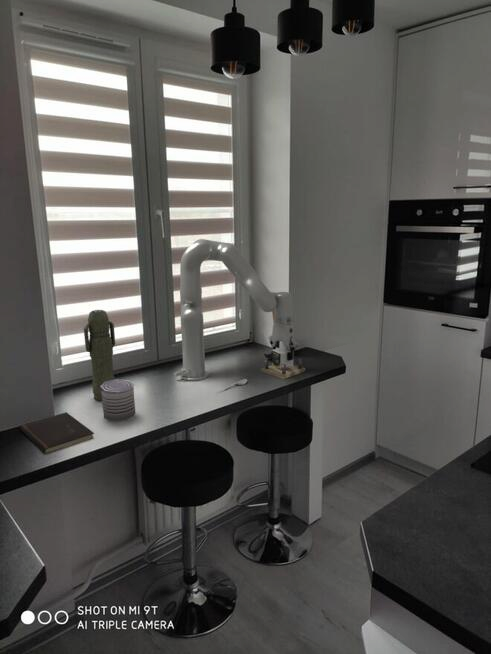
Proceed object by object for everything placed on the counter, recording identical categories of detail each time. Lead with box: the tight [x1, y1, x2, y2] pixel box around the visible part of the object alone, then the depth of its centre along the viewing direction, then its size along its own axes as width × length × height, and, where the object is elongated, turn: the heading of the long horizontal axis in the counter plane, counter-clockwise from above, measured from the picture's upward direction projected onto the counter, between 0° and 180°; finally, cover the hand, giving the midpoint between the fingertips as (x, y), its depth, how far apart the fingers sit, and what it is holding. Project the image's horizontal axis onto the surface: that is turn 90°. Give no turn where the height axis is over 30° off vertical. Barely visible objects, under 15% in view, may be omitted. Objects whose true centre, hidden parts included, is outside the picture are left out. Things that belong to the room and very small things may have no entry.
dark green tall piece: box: [83, 309, 116, 402], centre depth 191 cm, size 9×12×35 cm
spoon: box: [215, 378, 248, 394], centre depth 203 cm, size 4×21×2 cm, turn 136°
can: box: [100, 378, 136, 423], centre depth 176 cm, size 11×11×12 cm
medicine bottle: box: [271, 341, 294, 368], centre depth 220 cm, size 7×7×12 cm
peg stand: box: [260, 358, 306, 380], centre depth 221 cm, size 14×14×6 cm
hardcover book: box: [20, 411, 95, 454], centre depth 164 cm, size 16×23×2 cm
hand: (282, 357), depth 220 cm, fingers closed on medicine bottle, 8 cm apart
